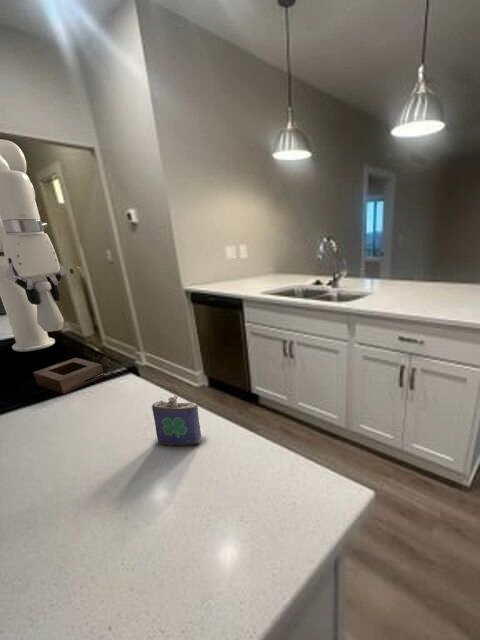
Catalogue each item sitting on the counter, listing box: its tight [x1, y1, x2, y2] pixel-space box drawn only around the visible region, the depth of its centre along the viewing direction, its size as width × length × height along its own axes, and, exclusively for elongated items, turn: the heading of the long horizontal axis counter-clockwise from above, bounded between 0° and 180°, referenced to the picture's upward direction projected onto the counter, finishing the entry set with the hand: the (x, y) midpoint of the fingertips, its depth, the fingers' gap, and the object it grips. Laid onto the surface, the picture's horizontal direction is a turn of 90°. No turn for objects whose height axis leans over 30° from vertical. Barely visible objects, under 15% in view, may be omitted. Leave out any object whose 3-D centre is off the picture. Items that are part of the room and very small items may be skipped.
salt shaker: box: [33, 280, 65, 333], centre depth 91 cm, size 6×6×13 cm
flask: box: [151, 395, 203, 447], centre depth 70 cm, size 9×3×11 cm, turn 87°
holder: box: [33, 357, 105, 395], centre depth 98 cm, size 12×12×4 cm
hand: (45, 301), depth 90 cm, fingers closed on salt shaker, 4 cm apart
